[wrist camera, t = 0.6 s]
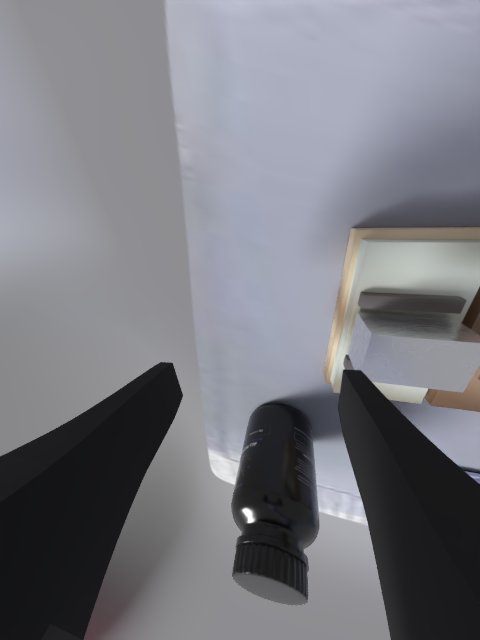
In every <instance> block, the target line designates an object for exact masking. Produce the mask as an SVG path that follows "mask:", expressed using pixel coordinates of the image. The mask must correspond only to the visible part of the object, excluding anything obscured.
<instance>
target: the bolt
mask: <svg viewBox="0 0 480 640" xmlns="http://www.w3.org/2000/svg"><path fill="white" fill-rule="evenodd" d="M347 352H348V355H349V358H350V360H351V363H352V365H353V368H354V370H361V371H362V372H363V373H364V374H365V375H366V376H367V377H368V378H369V379H370V380H371V381H372V382H378V383H386V384H394V385H403V386H411V387H420V388H428V389H436V390H445V391H453V392H462V393H463V392H464V390H465V389H466V387H467V385H468V384H469V382H470V380H471V379H472V377H473V375H474V374H475V372H476V370H477V369H478V367H479V365H480V335H478V334H477V333H475V332H474V331H472V330H471V329H469V328H468V327H466V326H465V325H463V324H462V323H460V322H459V321H457V320H456V319H454V318H453V317H441V316H424V315H408V314H391V313H374V312H358V311H357V314H356V318H355V322H354V326H353V330H352V334H351V338H350V342H349V346H348V350H347Z"/></svg>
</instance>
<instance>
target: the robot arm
mask: <svg viewBox="0 0 480 640" xmlns="http://www.w3.org/2000/svg"><path fill="white" fill-rule="evenodd" d="M182 397H183V394H182V391H181V388H180V385H179V382H178V379H177V375H176V372H175V369H174V366H173V363H165V362H164V363H163V362H161V363H159V364H157V365H155V366H154V367H152V368H151V369H149V370H148V371H146V372H145V373H143V374H142V375H140V376H139V377H137V378H136V379H134V380H133V381H131V382H130V383H128V384H127V385H126V386H124V387H123V388H122V389H120V390H118V391H117V392H115V393H114V394H112V395H111V396H109V397H107V398H106V399H104V400H103V401H101V402H100V403H98V404H97V405H95V406H94V407H92V408H90V409H89V410H87V411H86V412H84V413H82V414H81V415H79V416H77V417H75V418H74V419H72V420H70V421H69V422H67V423H65V424H63V425H61V426H60V427H58V428H56V429H54V430H52V431H50V432H49V433H47V434H45V435H43V436H41V437H39V438H37V439H35V440H33V441H31V442H29V443H27V444H25V445H23V446H21V447H19V448H17V449H15V450H13V451H11V452H9V453H7V454H5V455H3V456H0V640H83V639H84V636H85V633H86V630H87V627H88V623H89V620H90V617H91V614H92V611H93V608H94V605H95V602H96V599H97V597H98V593H99V590H100V587H101V585H102V582H103V579H104V576H105V573H106V570H107V567H108V565H109V562H110V560H111V557H112V554H113V551H114V548H115V545H116V543H117V540H118V538H119V535H120V533H121V530H122V528H123V525H124V523H125V520H126V518H127V515H128V513H129V510H130V508H131V505H132V503H133V501H134V498H135V496H136V494H137V491H138V489H139V487H140V484H141V482H142V480H143V477H144V475H145V473H146V471H147V469H148V467H149V465H150V463H151V462H152V460H153V458H154V456H155V454H156V452H157V450H158V448H159V446H160V445H161V443H162V441H163V439H164V437H165V435H166V433H167V431H168V429H169V428H170V426H171V424H172V422H173V420H174V418H175V415H176V413H177V410H178V408H179V405H180V402H181V400H182ZM338 410H339V416H340V422H341V427H342V433H343V437H344V440H345V444H346V447H347V451H348V454H349V458H350V461H351V464H352V468H353V471H354V475H355V478H356V481H357V485H358V488H359V492H360V495H361V498H362V502H363V505H364V509H365V513H366V517H367V521H368V526H369V531H370V535H371V540H372V544H373V550H374V554H375V559H376V564H377V569H378V574H379V579H380V584H381V589H382V595H383V600H384V605H385V610H386V615H387V620H388V626H389V631H390V637H391V640H480V474H478V473H472V472H467V471H463V470H462V469H461V468H460V467H459V466H458V465H456V464H455V463H454V462H453V461H452V460H451V459H450V458H448V457H447V456H446V455H445V454H444V453H443V452H442V451H441V450H440V449H438V448H437V447H436V446H435V445H434V444H433V443H432V442H431V441H430V440H429V439H428V438H427V437H426V436H424V435H423V434H422V433H421V432H420V431H419V430H418V429H417V428H416V427H415V426H414V425H413V424H412V423H411V422H410V421H409V420H408V419H407V418H406V417H405V416H404V415H403V414H402V413H401V412H400V411H399V410H398V409H397V408H396V407H395V406H394V405H393V404H392V403H391V402H390V401H389V400H388V399H387V398H386V397H385V395H384V394H383V393H382V392H381V391H380V390H379V389H378V388H377V387H376V386H375V385H374V384H373V383H372V381H371V380H370V379H369V378H368V377H367V376H366V375H365V374H364V373H363V372H362V371H361V370H347V369H343V374H342V381H341V389H340V397H339V404H338Z"/></svg>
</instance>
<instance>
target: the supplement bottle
mask: <svg viewBox="0 0 480 640" xmlns="http://www.w3.org/2000/svg"><path fill="white" fill-rule="evenodd" d="M231 508H232V514H233V518H234V521H235V523H236V525H237V526H238V528H239V529H240V530H241V532H242V535H241V536H239V537H238V538H237V543H236V554H235V560H234V567H233V574H232V576H233V579H234V580H235V582H236V583H238V585H240V586H241V587H243V588H244V589H246V590H247V591H249V592H251V593H253V594H255V595H257V596H260V597H262V598H265V599H268V600H271V601H274V602H278V603H282V604H288V605H302V604H305V603H307V600H308V580H307V572H308V570H309V566H308V558H307V556H306V555H305V554H304V552H303V549H305V548H307V547H308V546H310V545H311V544H312V543H313V542H314V540H315V539H316V537H317V534H318V531H319V510H318V498H317V485H316V473H315V460H314V448H313V436H312V428H311V425H310V423H309V421H308V420H307V418H306V417H305V416H304V415H303V414H302V413H300V412H299V411H298V410H296V409H294V408H292V407H289V406H286V405H281V404H269V405H264V406H262V407H259V408H258V409H256V410H255V411H254V412H253V413H252V414H251V416H250V418H249V422H248V426H247V431H246V435H245V440H244V445H243V450H242V454H241V459H240V464H239V469H238V473H237V478H236V483H235V488H234V492H233V498H232V504H231Z"/></svg>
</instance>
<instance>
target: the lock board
mask: <svg viewBox="0 0 480 640" xmlns="http://www.w3.org/2000/svg"><path fill="white" fill-rule="evenodd" d="M357 311H358V312H374V313H391V314H408V315H424V316H441V317H453V318H454V319H456V320H457V321H459V322H460V323H462V324H463V325H465V326H466V327H468V328H469V329H471V330H472V331H474V332H475V333H477V334H478V335H480V227H410V228H351V231H350V236H349V242H348V247H347V252H346V257H345V262H344V268H343V273H342V278H341V283H340V288H339V293H338V299H337V304H336V309H335V314H334V319H333V324H332V330H331V335H330V340H329V345H328V350H327V355H326V361H325V366H324V371H323V372H324V377H325V383H328V384H332V389H333V393H340V389H341V381H342V374H343V369H347V370H354V368H353V365H352V363H351V360H350V358H349V355H348V352H347V350H348V346H349V342H350V338H351V334H352V330H353V326H354V322H355V318H356V314H357ZM372 383H373V384H374V385H375V386H376V387H377V388H378V389H379V390H380V391H381V392H382V393H383V394H384V395H385V397H386V398H387V399H388V400H394V401H402V402H409V403H417V404H421V403H422V401H423V399H424V397H425V398H426V400H427V401H428V403H429V404H430V405H432V406H440V407H447V408H455V409H462V410H470V411H477V412H480V365H479V367H478V369H477V370H476V372H475V374H474V375H473V377H472V379H471V380H470V382H469V384H468V385H467V387H466V389H465V390H464V392H463V393H462V392H453V391H445V390H436V389H428V388H420V387H411V386H403V385H394V384H386V383H378V382H372Z"/></svg>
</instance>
